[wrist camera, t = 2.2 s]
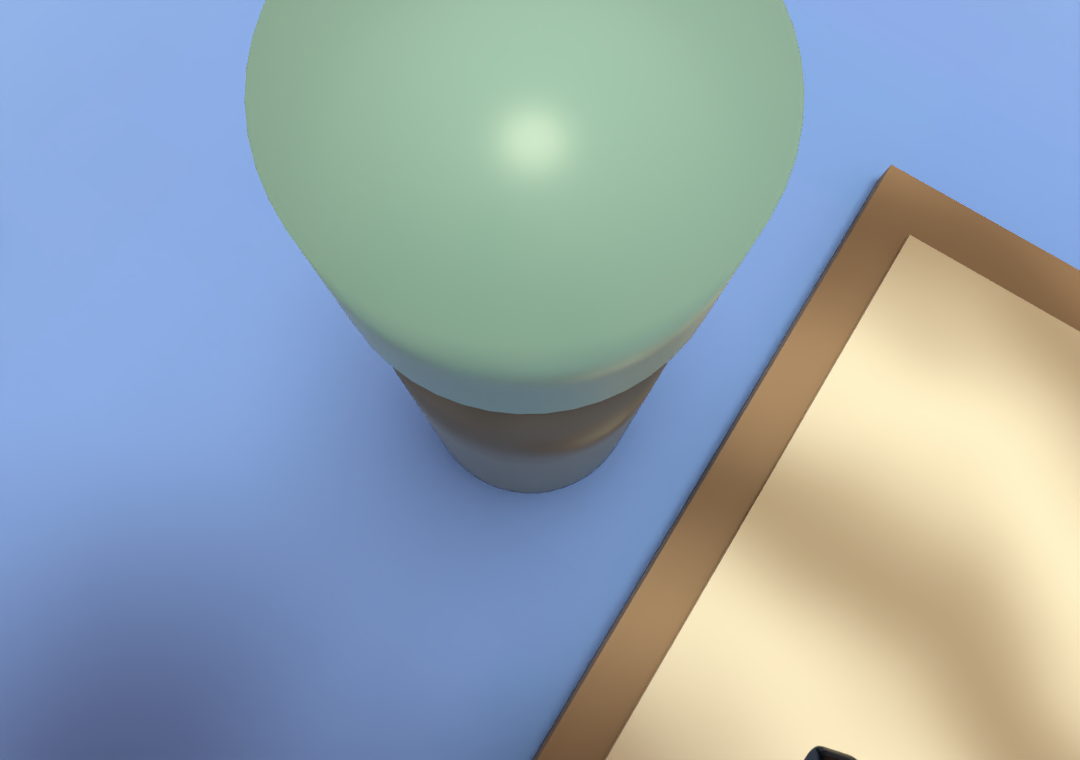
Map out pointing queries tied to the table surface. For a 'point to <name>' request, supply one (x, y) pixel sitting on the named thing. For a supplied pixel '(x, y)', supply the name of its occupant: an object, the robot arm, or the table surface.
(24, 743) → the table surface
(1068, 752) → the writing board
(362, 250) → the canister
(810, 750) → the robot arm
